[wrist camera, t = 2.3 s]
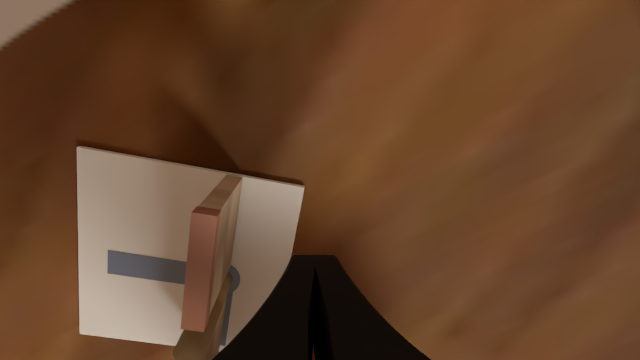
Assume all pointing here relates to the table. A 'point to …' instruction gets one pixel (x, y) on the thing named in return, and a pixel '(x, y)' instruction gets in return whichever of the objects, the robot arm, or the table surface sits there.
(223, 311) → the fixed panel
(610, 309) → the table surface
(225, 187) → the folding panel
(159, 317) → the card
